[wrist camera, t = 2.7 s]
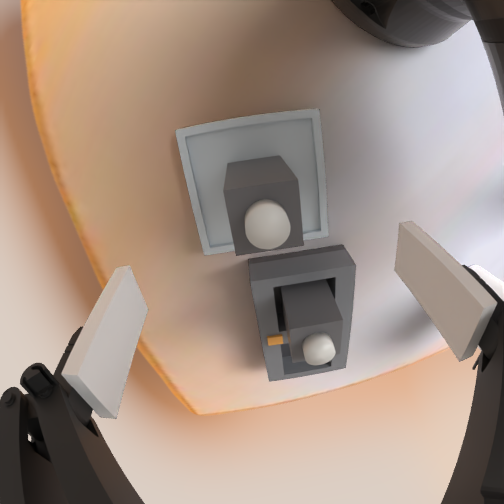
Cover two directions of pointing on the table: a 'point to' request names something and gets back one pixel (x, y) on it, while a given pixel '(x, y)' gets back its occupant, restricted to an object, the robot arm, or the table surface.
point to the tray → (245, 148)
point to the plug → (263, 205)
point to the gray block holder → (304, 310)
